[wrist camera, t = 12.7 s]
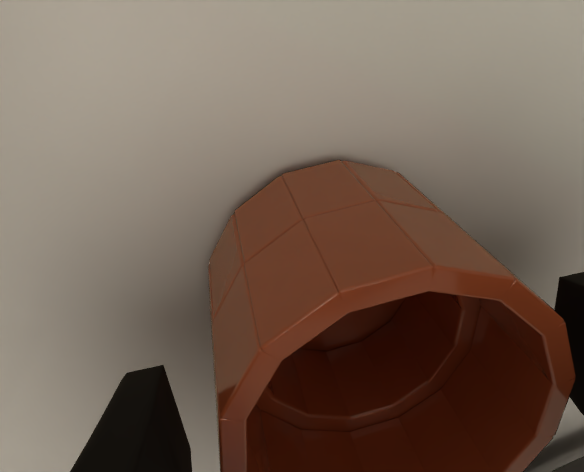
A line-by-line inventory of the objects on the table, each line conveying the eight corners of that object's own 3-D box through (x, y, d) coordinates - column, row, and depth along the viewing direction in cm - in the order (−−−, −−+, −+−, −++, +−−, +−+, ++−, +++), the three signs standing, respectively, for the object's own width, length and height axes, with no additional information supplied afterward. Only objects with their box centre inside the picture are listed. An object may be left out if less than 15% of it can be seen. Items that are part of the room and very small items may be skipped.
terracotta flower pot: (270, 392, 13) (310, 588, 9) (160, 223, 11) (140, 386, 6) (459, 303, 13) (593, 459, 9) (396, 108, 11) (542, 194, 6)
